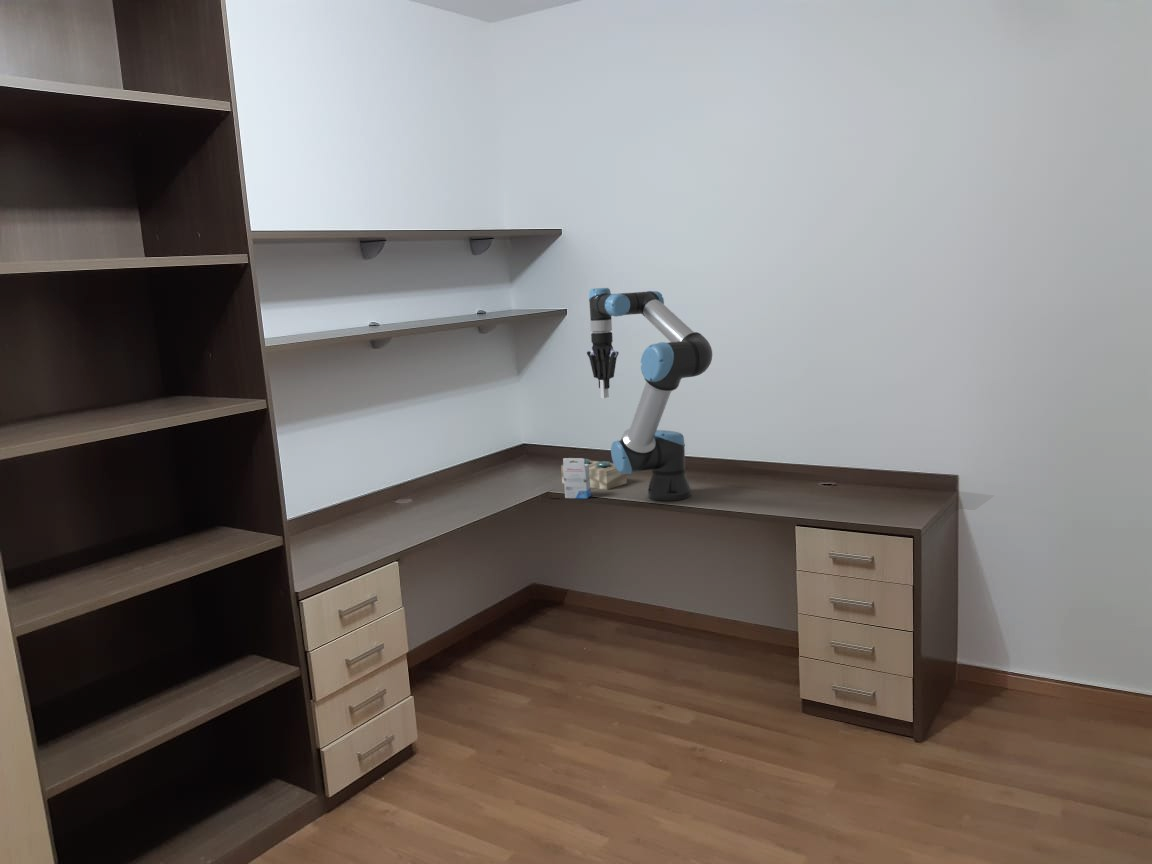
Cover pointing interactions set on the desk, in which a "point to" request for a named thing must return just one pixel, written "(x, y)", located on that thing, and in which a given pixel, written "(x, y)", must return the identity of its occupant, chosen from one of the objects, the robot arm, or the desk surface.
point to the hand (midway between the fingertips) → (604, 397)
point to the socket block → (603, 476)
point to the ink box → (576, 478)
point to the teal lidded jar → (585, 461)
